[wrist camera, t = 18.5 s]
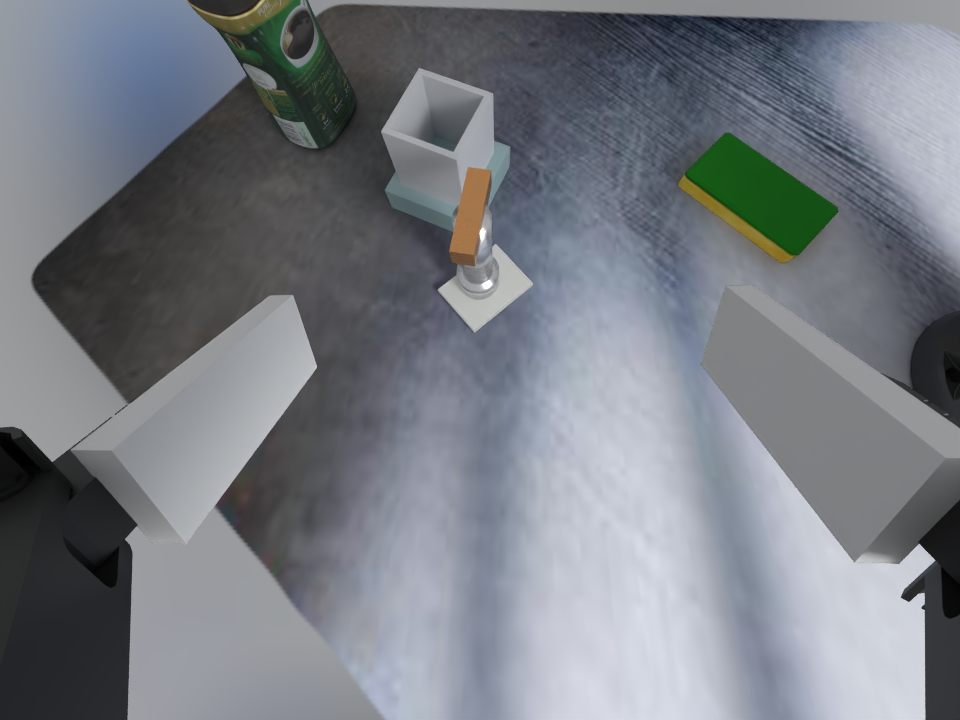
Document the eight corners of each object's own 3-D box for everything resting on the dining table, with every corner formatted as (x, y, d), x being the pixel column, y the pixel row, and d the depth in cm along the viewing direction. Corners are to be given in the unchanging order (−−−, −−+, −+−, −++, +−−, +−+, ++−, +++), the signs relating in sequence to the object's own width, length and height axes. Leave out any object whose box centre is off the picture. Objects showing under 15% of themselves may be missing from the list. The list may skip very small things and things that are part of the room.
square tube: (431, 138, 45) (413, 53, 35) (509, 166, 44) (512, 86, 34) (392, 207, 43) (361, 138, 33) (471, 239, 42) (463, 177, 32)
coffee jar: (314, 78, 48) (200, -146, 30) (368, 99, 47) (284, -120, 28) (272, 138, 46) (124, -60, 28) (327, 162, 45) (210, -29, 27)
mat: (495, 246, 41) (495, 243, 41) (532, 285, 40) (533, 283, 40) (438, 291, 41) (437, 289, 40) (474, 332, 39) (473, 331, 39)
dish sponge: (715, 147, 43) (727, 130, 41) (821, 222, 41) (841, 208, 38) (674, 187, 42) (685, 172, 40) (780, 266, 40) (798, 255, 38)
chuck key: (465, 247, 41) (451, 165, 29) (504, 253, 41) (507, 172, 28) (452, 308, 40) (432, 248, 27) (492, 315, 39) (490, 257, 27)
